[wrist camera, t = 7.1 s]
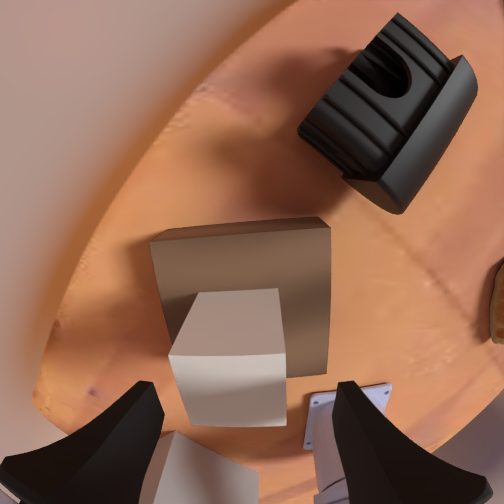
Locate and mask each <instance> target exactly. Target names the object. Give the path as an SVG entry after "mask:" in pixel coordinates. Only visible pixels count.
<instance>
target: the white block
mask: <svg viewBox="0 0 504 504" xmlns="http://www.w3.org/2000/svg"><path fill="white" fill-rule="evenodd" d="M168 357H169V360H170V364H171V367H172V370H173V373H174V376H175V380H176V383H177V386H178V389H179V392H180V395H181V397H182V400H183V403H184V406H185V409H186V412H187V414H188V417H189V420H190V422H191V425H194V426H211V427H270V426H286V352H285V343H284V334H283V325H282V317H281V308H280V300H279V292H278V288H272V289H256V290H238V291H218V292H199V293H198V295H197V297H196V299H195V301H194V303H193V305H192V307H191V309H190V311H189V313H188V315H187V317H186V319H185V321H184V323H183V325H182V327H181V329H180V331H179V333H178V336H177V338H176V340H175V342H174V344H173V346H172V348H171V350H170V352H169V354H168Z"/></svg>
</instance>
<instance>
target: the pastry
mask: <svg viewBox="0 0 504 504" xmlns="http://www.w3.org/2000/svg"><path fill="white" fill-rule="evenodd" d="M490 310H491V311H490V332H491V338H492V341H493V343H495V344H498V343H500V344H504V264H503V265H502V266H501V268H500V270H499V271H498V273H497V275H496V278H495V286H494V291H493V295H492V299H491V302H490Z"/></svg>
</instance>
